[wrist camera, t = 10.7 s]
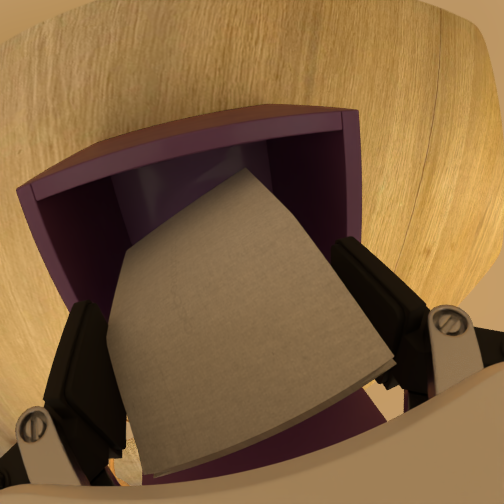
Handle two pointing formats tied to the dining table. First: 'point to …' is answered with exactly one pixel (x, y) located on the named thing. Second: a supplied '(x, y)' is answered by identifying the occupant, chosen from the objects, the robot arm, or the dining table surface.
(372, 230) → the dining table surface
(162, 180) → the purple box
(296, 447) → the purple box lid
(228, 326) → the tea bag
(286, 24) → the dining table surface
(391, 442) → the robot arm
